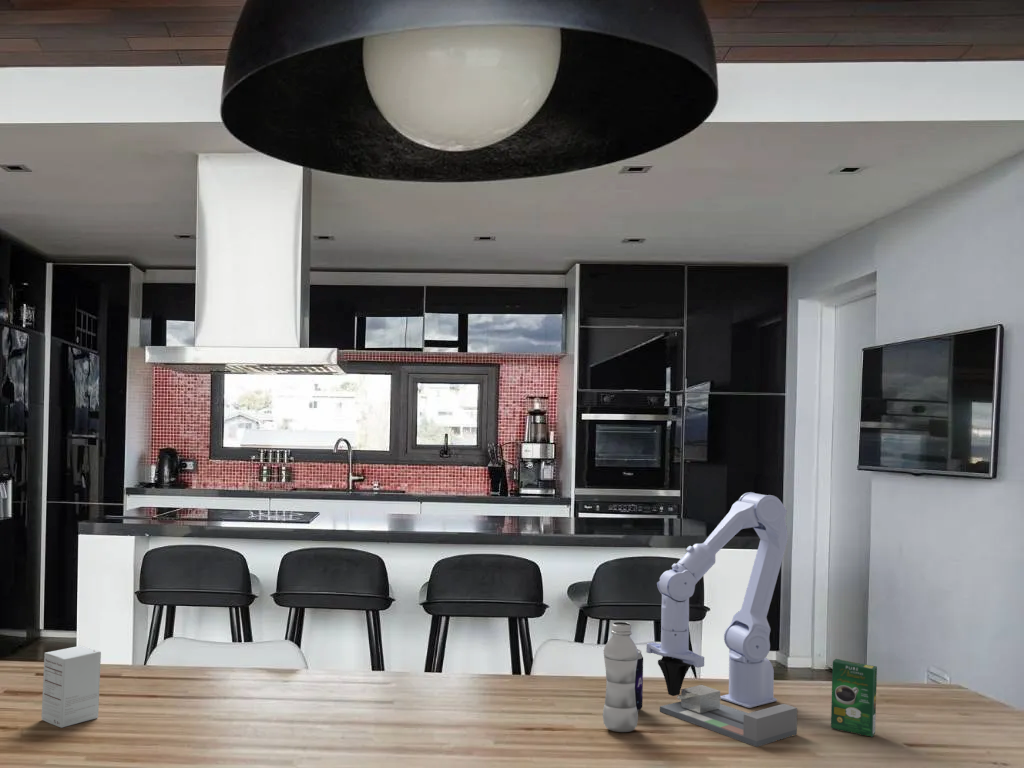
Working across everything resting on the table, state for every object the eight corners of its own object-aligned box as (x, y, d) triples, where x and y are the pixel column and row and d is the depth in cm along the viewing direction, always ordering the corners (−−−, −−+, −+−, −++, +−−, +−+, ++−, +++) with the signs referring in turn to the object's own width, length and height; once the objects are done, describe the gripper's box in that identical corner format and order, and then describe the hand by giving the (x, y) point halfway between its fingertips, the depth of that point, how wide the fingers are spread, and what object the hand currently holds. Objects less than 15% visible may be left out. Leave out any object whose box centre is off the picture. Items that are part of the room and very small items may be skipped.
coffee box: (877, 734, 168) (877, 664, 169) (874, 738, 166) (874, 667, 167) (834, 725, 173) (834, 657, 174) (830, 729, 171) (830, 660, 172)
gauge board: (699, 701, 186) (699, 677, 187) (796, 734, 167) (796, 707, 167) (659, 711, 179) (660, 686, 179) (756, 746, 160) (756, 718, 160)
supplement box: (78, 710, 171) (81, 644, 172) (99, 718, 167) (102, 650, 167) (39, 720, 165) (43, 651, 166) (60, 728, 161) (64, 658, 161)
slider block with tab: (701, 702, 182) (701, 684, 182) (720, 708, 178) (720, 690, 178) (669, 709, 177) (669, 691, 177) (688, 716, 173) (688, 698, 173)
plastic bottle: (633, 738, 163) (635, 628, 164) (598, 733, 165) (600, 625, 166) (641, 727, 169) (642, 622, 170) (606, 722, 171) (608, 618, 172)
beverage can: (641, 715, 176) (642, 655, 177) (613, 713, 177) (614, 652, 178) (643, 707, 182) (644, 648, 182) (615, 705, 183) (616, 646, 183)
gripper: (636, 624, 188) (635, 688, 188) (688, 637, 177) (687, 706, 176) (659, 620, 193) (658, 683, 192) (711, 633, 181) (710, 701, 180)
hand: (674, 694), depth 184 cm, fingers closed
